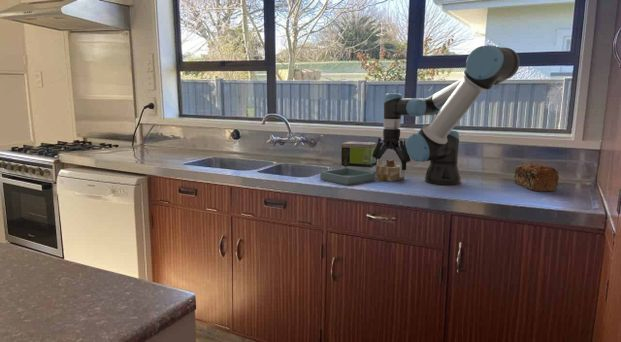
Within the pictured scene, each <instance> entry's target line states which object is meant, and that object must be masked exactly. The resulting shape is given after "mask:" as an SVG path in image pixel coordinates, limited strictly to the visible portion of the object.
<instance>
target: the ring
mask: <svg viewBox="0 0 621 342" xmlns="http://www.w3.org/2000/svg"><path fill="white" fill-rule="evenodd" d="M399 174H400V164H395V165H394V167H387V163H385V164H384V163H383V164H382V165H377V166H376V171H375V179H376V180H378V182H379V181H380V182H383V181H386V182H387V181H388V182H396V181H397V182H398V181H401V180H405V177H401V178H400V177H399Z"/></svg>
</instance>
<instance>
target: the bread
mask: <svg viewBox="0 0 621 342" xmlns="http://www.w3.org/2000/svg"><path fill="white" fill-rule="evenodd" d="M513 177H514V183H515V184H517V185H519V186H521V187H522V188H525V189H527V190H530V191H534V192H535V191H536V192H555V191H556V190H557V187H558V186H559V184H558V183H559V179H560V176H559V171H557V169H556V168H554V167H552V166H548V165H546V164H540V163H531V162H523V163H521V164H520V165H517V166H516V167H515V169H514V175H513Z"/></svg>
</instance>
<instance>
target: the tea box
mask: <svg viewBox="0 0 621 342" xmlns="http://www.w3.org/2000/svg"><path fill="white" fill-rule="evenodd" d="M376 146H377V142H368V141H367V142H365V141H364V142H363V141H362V142H361V141H346V142H342V143H341V147H340V148H341V151H340V152H341V156H340V159H341V163H340V164H341V165H340V166H341V168H340V169H343V168H350V169H355V170H360V171H366V172H371V173H376V159H375V157H373V156H372V155H373V153H374V150H375V148H376Z"/></svg>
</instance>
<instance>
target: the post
mask: <svg viewBox="0 0 621 342" xmlns="http://www.w3.org/2000/svg"><path fill="white" fill-rule="evenodd" d="M385 164H387V167H394V165H396V164H395V159H386V163H385Z"/></svg>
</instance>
